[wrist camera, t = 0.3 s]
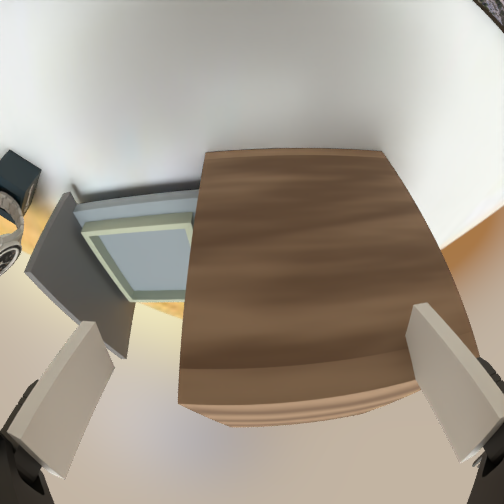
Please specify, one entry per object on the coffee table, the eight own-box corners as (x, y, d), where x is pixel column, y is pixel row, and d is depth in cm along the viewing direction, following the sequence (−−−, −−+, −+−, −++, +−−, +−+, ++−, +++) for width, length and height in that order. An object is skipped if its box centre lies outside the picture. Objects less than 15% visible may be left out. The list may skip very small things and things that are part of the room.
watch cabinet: (205, 152, 20) (177, 403, 9) (381, 151, 20) (480, 357, 9) (230, 291, 36) (231, 427, 25) (337, 284, 36) (361, 414, 25)
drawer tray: (63, 193, 20) (24, 272, 15) (205, 172, 20) (193, 266, 15) (131, 298, 34) (120, 358, 29) (229, 296, 34) (229, 362, 29)
